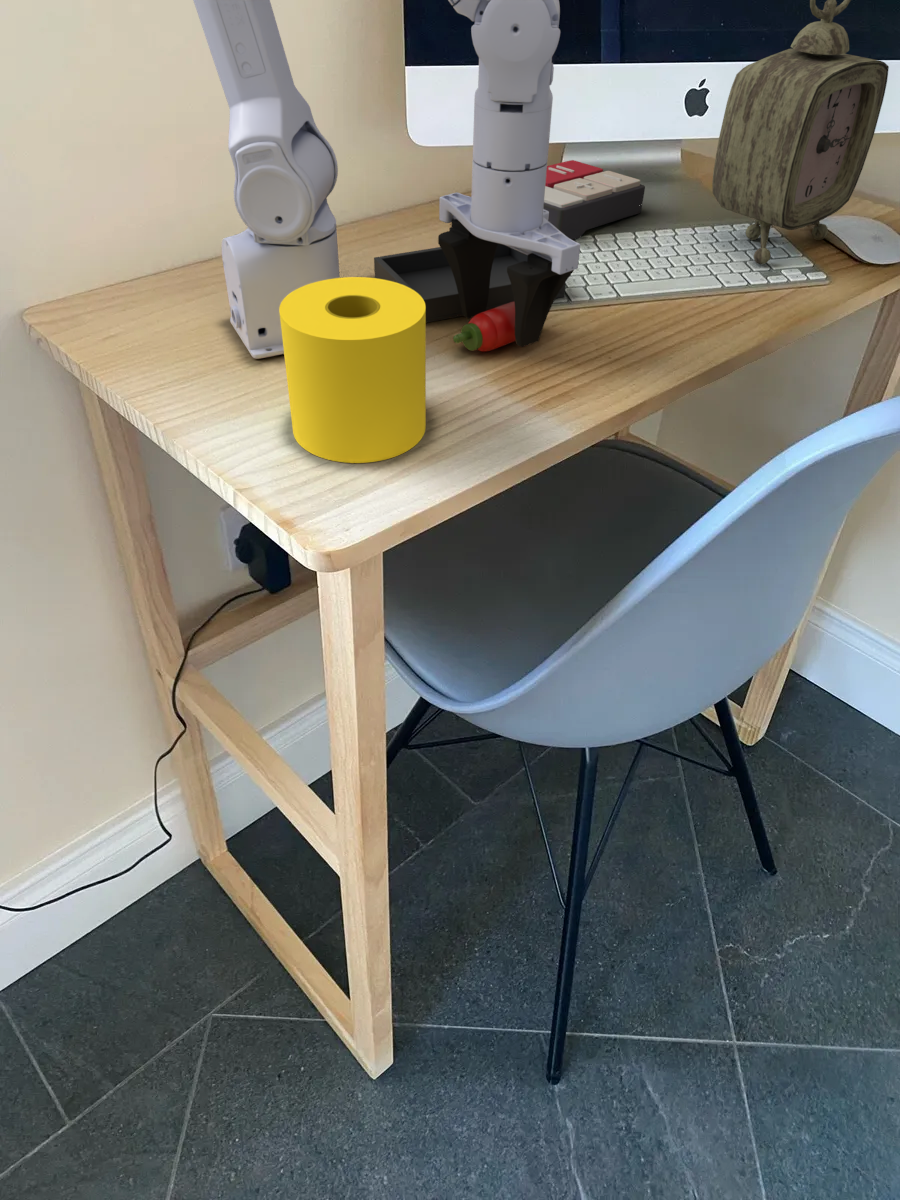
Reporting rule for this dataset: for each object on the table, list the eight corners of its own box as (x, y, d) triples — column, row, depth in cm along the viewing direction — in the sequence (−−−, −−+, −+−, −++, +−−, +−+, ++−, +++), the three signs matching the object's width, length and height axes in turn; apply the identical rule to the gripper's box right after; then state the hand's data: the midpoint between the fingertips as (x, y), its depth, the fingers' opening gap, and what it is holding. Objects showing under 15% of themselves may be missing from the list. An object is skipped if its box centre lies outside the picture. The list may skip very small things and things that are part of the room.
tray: (417, 324, 82) (417, 301, 80) (374, 279, 89) (373, 257, 87) (564, 297, 87) (566, 274, 85) (512, 256, 94) (513, 234, 92)
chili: (465, 368, 76) (467, 332, 74) (441, 353, 78) (442, 318, 75) (551, 335, 81) (555, 300, 79) (526, 321, 83) (529, 287, 80)
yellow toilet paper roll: (449, 440, 68) (452, 320, 61) (326, 477, 64) (315, 352, 57) (388, 382, 74) (384, 267, 68) (272, 412, 70) (257, 293, 64)
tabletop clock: (763, 275, 91) (838, -25, 75) (691, 248, 96) (746, -38, 80) (841, 241, 98) (926, -39, 82) (770, 217, 103) (836, -51, 87)
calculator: (648, 178, 102) (563, 202, 93) (641, 218, 104) (558, 245, 96) (572, 155, 107) (485, 176, 99) (567, 194, 110) (482, 217, 101)
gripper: (616, 174, 67) (593, 345, 76) (486, 129, 75) (479, 288, 84) (547, 194, 64) (532, 370, 73) (419, 144, 72) (420, 308, 81)
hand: (500, 328), depth 78 cm, fingers open, 6 cm apart
